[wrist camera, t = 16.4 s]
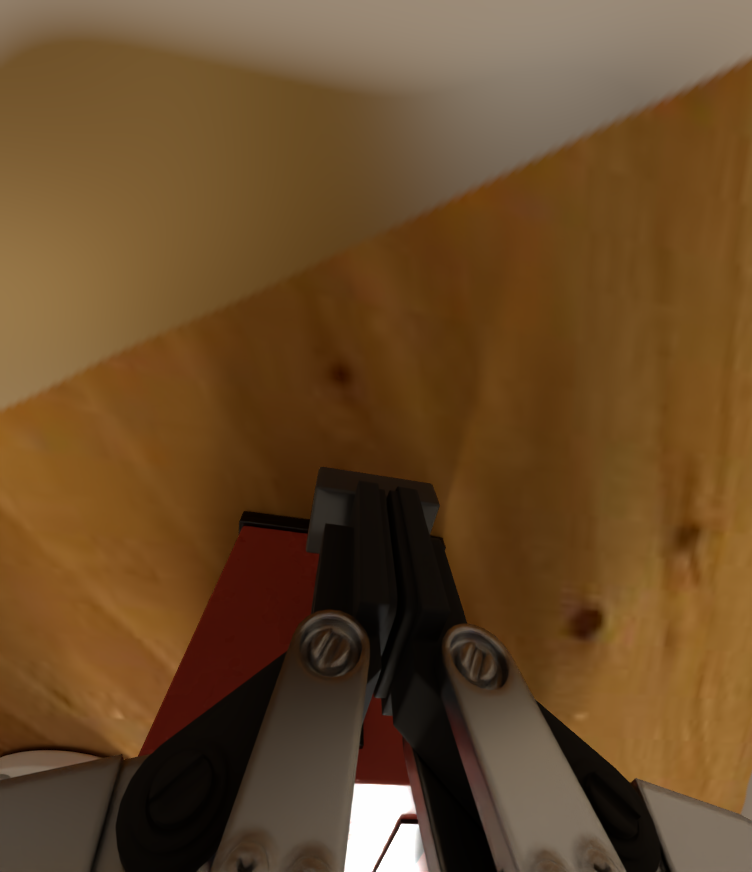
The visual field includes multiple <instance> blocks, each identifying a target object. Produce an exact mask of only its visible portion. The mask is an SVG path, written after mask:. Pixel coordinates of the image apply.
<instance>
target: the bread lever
mask: <svg viewBox="0 0 752 872" xmlns="http://www.w3.org/2000/svg"><path fill="white" fill-rule="evenodd" d="M359 480H361V481H367V482H374V483H378V485H379V489H384V490H385V495H386V500H387V496H388V493H389V491H390V490H393V491H395V490H396V488H397V487H398V486H400V487H406V488H413V489H417V491H418V494H419V498H420V501H421V505H422V509H423V512H424V516H425V520H426V523H427V527H428V531H429V534H430V533H431V530H432V527H433V524H434V521H435V518H436V515H437V512H438V509H439V506H440V505H439V501H438V499H437V496H436V493H435V491H434V488H433V485H432V484H430V483H424V482H418V481H411V480H405V479H398V478H392V477H385V476H379V475H372V474H366V473H359V472H353V471H347V470H340V469H334V468H327V467H320V469H319V471H318V476H317V482H316V487H315V493H314V499H313V505H312V511H311V517H310V523H309V530H308V536H307V542H306V548H305V549H306V552H308V553H316V554H320V548H321V542H322V537H323V532H324V527H325V523H328V524H336V525H343V526H348V525H349V521H350V516H351V511H352V507H353V502H354V498H355V493H356V489H357V485H358V481H359Z"/></svg>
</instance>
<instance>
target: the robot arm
mask: <svg viewBox="0 0 752 872" xmlns="http://www.w3.org/2000/svg"><path fill="white" fill-rule="evenodd" d="M373 694H374V697H375V698H381V705H382V715H387V716H393V725H394V727H395V728H396V729H397V730H398V731H399V732H400V734H401V735H402V736H403V737H402V743H403V753H404V757H405V762H406V767H407V772H408V777H409V781H410V786H411V791H412V796H413V800H414V805H415V810H416V815H417V820H418V824H419V829H420V834H421V839H422V843H423V848H424V853H425V858H426V863H427V867H428V872H752V820H750V819H748V818H746V817H744V816H742V815H740V814H738V813H735V812H732V811H729V810H726V809H723V808H720V807H717V806H715V805H712V804H709V803H706V802H703V801H700V800H697V799H694V798H692V797H689V796H686V795H683V794H680V793H677V792H674V791H671V790H668V789H666V788H663V787H660V786H657V785H654V784H651V783H648V782H645V781H643V780H640V779H637V778H635V779H634V780H633V781H632V782H631V783H630V782H628V781H627V780H626V779H625V778H624V777H623V776H622V775H621V774H620V773H619V772H618V771H617V769H616V768H614V767H613V766H612V765H611V764H610V763H609V762H607V761H606V760H605V759H604V758H603V757H602V756H600V755H599V754H598V753H597V752H596V751H595V750H593V749H592V748H591V747H590V746H589V745H588V744H586V743H585V742H584V741H583V740H582V739H581V738H579V737H578V736H577V735H576V734H575V733H574V732H572V731H571V730H570V729H569V728H568V727H567V726H565V725H564V724H563V723H562V722H561V721H560V720H558V719H557V718H556V717H555V716H554V715H553V714H551V713H550V712H549V711H548V710H547V709H546V708H544V707H543V706H542V705H541V704H540V703H539V702H537V701H536V700H535V699H534V697H533V695H532V694H531V692H530V690H529V688H528V686H527V684H526V682H525V680H524V679H523V677H522V675H521V673H520V671H519V669H518V667H517V665H516V664H515V662H514V660H513V658H512V656H511V655H510V653H509V652H508V650H507V649H506V647H505V646H504V644H503V643H502V642H501V641H500V640H499V639H498V638H497V637H496V636H495V635H493V634H492V633H490V632H489V631H487V630H486V629H484V628H481V627H479V626H476V625H474V624H467V621H466V618H465V615H464V611H463V608H462V605H461V602H460V598H459V595H458V592H457V589H456V586H455V582H454V579H453V576H452V573H451V570H450V566H449V563H448V560H447V557H446V554H445V550H444V547H443V544H442V542H441V540H440V539H438V538H431V537H430V534H429V531H428V527H427V523H426V520H425V516H424V512H423V509H422V505H421V501H420V498H419V494H418V491H417V489H413V488H406V487H400V486H398V487H397V488H396V490H395V491H393V490H390V491H389V493H388V496H387V500H386V495H385V490H384V489H379V485H378V483H374V482H367V481H361V480H359V481H358V485H357V489H356V493H355V498H354V502H353V507H352V511H351V516H350V521H349V525H348V526H343V525H336V524H328V523H325V527H324V532H323V537H322V542H321V548H320V554H319V560H318V566H317V573H316V580H315V587H314V594H313V601H312V608H311V615H309V616H307V617H306V618H305V619H304V620H303V621H302V622H300V623H299V624H298V626H297V628H296V630H295V632H294V634H293V636H292V639H291V641H290V644H289V647H288V650H287V651H286V652H284V653H283V654H282V655H280V656H279V657H278V658H276V659H275V660H274V661H272V662H271V663H270V664H268V665H267V666H266V667H264V668H263V669H262V670H260V671H259V672H258V673H256V674H255V675H254V676H252V677H251V678H250V679H248V680H247V681H246V682H244V683H243V684H242V685H240V686H239V687H238V688H236V689H235V690H234V691H232V692H231V693H230V694H228V695H227V696H226V697H224V698H223V699H222V700H220V701H219V702H218V703H216V704H215V705H214V706H212V707H211V708H210V709H208V710H207V711H206V712H204V713H203V714H202V715H200V716H199V717H197V718H196V719H195V720H193V721H192V722H191V723H189V724H188V725H187V726H185V727H184V728H183V729H181V730H180V731H179V732H177V733H176V734H175V735H173V736H172V737H171V738H169V739H168V740H167V741H165V742H164V743H163V744H161V745H160V746H159V747H158V748H157V749H156V750H155V751H154V752H153V753H152V754H148V755H143V756H139V757H134V758H130V759H125V760H123V755H122V754H120V755H115V756H111V757H106V758H100V757H97V756H93V755H89V754H83V753H77V752H70V751H58V750H36V751H26V752H19V753H14V754H10V755H6V756H3V757H1V758H0V872H344V869H345V861H346V852H347V844H348V835H349V827H350V819H351V810H352V802H353V793H354V785H355V777H356V768H357V760H358V751H359V743H360V735H361V726H362V724H363V721H364V718H365V715H366V713H367V710H368V707H369V704H370V701H371V698H372V695H373Z"/></svg>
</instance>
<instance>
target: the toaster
mask: <svg viewBox="0 0 752 872" xmlns="http://www.w3.org/2000/svg"><path fill="white" fill-rule="evenodd" d="M309 523H310V520H307V519H299V518H292V517H284V516H277V515H270V514H262V513H255V512H247V511H244V512H243V514H242V516H241V519H240V521H239V535H238V538H237V540H236V542H235V545H234V547H233V549H232V551H231V553H230V555H229V558H228V560H227V562H226V564H225V566H224V569H223V571H222V573H221V575H220V577H219V580H218V582H217V584H216V586H215V588H214V591H213V593H212V595H211V597H210V599H209V602H208V604H207V606H206V608H205V610H204V612H203V615H202V617H201V619H200V621H199V623H198V626H197V628H196V630H195V632H194V634H193V637H192V639H191V641H190V643H189V645H188V648H187V650H186V652H185V654H184V656H183V659H182V661H181V663H180V665H179V667H178V670H177V672H176V674H175V676H174V678H173V680H172V683H171V685H170V687H169V689H168V691H167V694H166V696H165V698H164V700H163V702H162V705H161V707H160V709H159V711H158V713H157V716H156V718H155V720H154V722H153V724H152V727H151V729H150V731H149V733H148V735H147V737H146V740H145V742H144V744H143V746H142V748H141V751H140V753H139V755H138V757H139V756H143V755H148V754H152V753H153V752H154V751H155V750H156V749H157V748H158V747H159V746H160V745H161V744H163V743H164V742H165V741H167V740H168V739H169V738H171V737H172V736H173V735H175V734H176V733H177V732H179V731H180V730H181V729H183V728H184V727H185V726H187V725H188V724H189V723H191V722H192V721H193V720H195V719H196V718H197V717H199V716H200V715H202V714H203V713H204V712H206V711H207V710H208V709H210V708H211V707H212V706H214V705H215V704H216V703H218V702H219V701H220V700H222V699H223V698H224V697H226V696H227V695H228V694H230V693H231V692H232V691H234V690H235V689H236V688H238V687H239V686H240V685H242V684H243V683H244V682H246V681H247V680H248V679H250V678H251V677H252V676H254V675H255V674H256V673H258V672H259V671H260V670H262V669H263V668H264V667H266V666H267V665H268V664H270V663H271V662H272V661H274V660H275V659H276V658H278V657H279V656H280V655H282V654H283V653H284V652H286V651H287V650H288V647H289V644H290V641H291V639H292V636H293V634H294V632H295V630H296V628H297V626H298V624H299V623H300V622H302V621H303V620H304V619H305V618H306V617H307V616H309V615H311V608H312V601H313V594H314V587H315V580H316V573H317V566H318V560H319V554H316V553H308V552H306V549H305V548H306V542H307V536H308V530H309ZM430 537H431V538H438V539H440V540H441V542H442V544H443V547H444V550H445V548H446V547H445V544H444V541H443V538H441V537H434V536H430ZM402 737H403V736H402V735H401V734H400V732H399V731H398V730H397V729H396V728H395V727H394V725H393V716H387V715H382V705H381V698H375V697H374V694H373V695H372V698H371V701H370V704H369V707H368V710H367V713H366V715H365V718H364V721H363V724H362V726H361V735H360V743H359V751H358V760H357V768H356V777H355V785H354V793H353V802H352V810H351V819H350V827H349V835H348V844H347V852H346V861H345V869H344V872H428V867H427V863H426V858H425V853H424V848H423V843H422V839H421V834H420V829H419V824H418V820H417V815H416V810H415V805H414V800H413V796H412V791H411V786H410V781H409V777H408V772H407V767H406V762H405V757H404V753H403V743H402Z"/></svg>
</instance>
